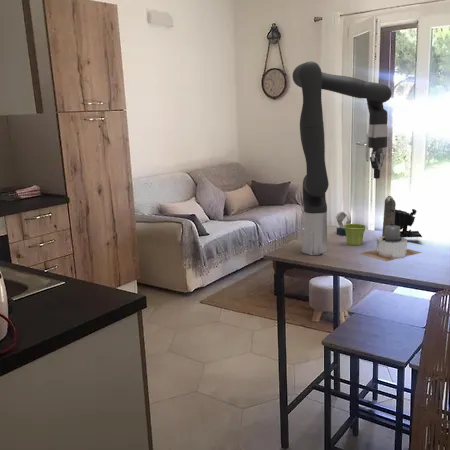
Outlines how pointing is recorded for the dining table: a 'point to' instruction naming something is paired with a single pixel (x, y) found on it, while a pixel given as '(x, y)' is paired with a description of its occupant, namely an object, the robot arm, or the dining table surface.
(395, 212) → the vintage camera
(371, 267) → the dining table surface
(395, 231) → the gray cylinder
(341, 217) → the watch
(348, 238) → the plant pot
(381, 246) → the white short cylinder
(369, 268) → the dining table surface
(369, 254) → the mount board
